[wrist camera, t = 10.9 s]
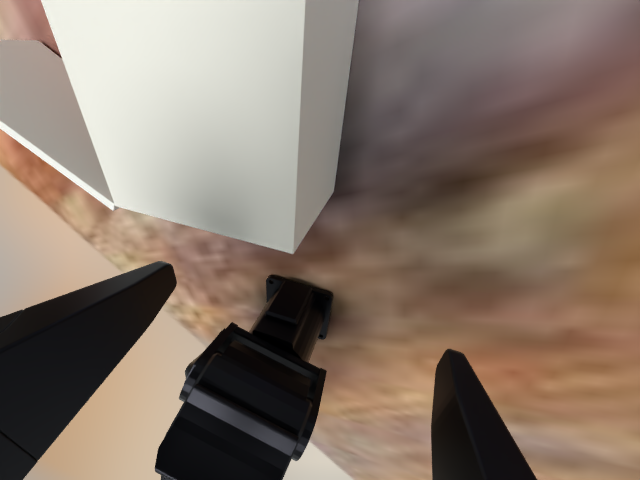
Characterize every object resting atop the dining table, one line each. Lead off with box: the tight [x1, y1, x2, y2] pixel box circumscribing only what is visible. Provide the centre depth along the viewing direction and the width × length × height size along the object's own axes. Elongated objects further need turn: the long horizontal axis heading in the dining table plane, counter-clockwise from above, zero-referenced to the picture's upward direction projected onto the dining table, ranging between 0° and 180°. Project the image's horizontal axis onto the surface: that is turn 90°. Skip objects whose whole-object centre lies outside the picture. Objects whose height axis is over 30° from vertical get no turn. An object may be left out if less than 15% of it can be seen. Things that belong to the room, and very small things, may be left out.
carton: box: [41, 0, 359, 254], centre depth 15 cm, size 14×11×8 cm
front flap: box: [0, 40, 120, 211], centre depth 18 cm, size 14×1×12 cm, turn 54°
